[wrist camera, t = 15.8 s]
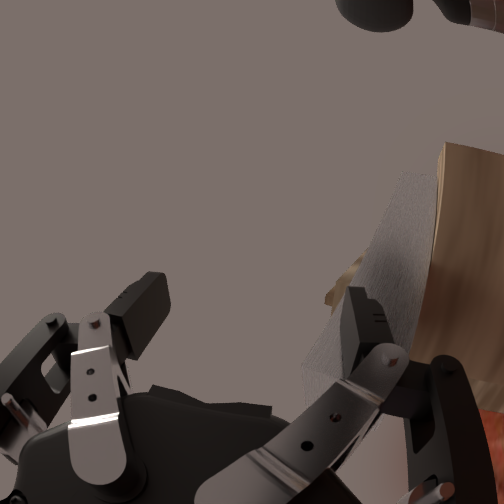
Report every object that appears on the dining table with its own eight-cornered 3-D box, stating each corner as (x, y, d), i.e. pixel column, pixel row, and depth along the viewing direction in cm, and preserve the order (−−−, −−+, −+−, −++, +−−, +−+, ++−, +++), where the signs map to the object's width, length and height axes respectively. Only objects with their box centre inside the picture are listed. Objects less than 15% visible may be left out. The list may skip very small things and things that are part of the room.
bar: (434, 211, 25) (400, 205, 28) (437, 176, 23) (402, 171, 26) (375, 431, 10) (304, 405, 13) (394, 397, 8) (301, 365, 11)
